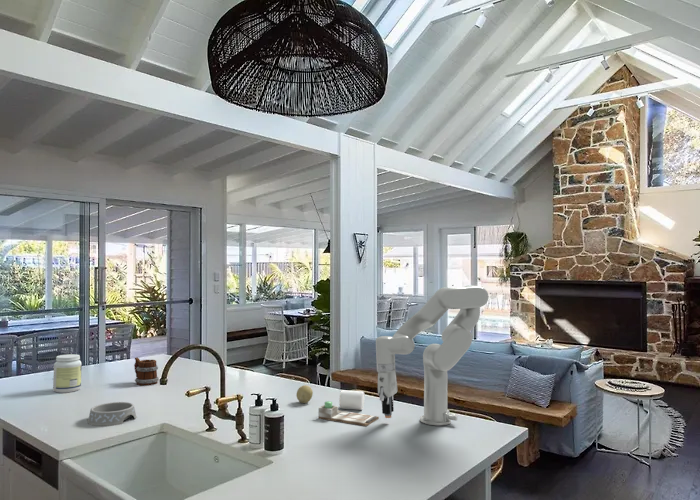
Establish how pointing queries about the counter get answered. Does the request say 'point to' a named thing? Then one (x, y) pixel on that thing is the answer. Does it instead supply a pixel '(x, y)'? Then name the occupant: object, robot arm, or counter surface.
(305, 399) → the potato
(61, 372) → the supplement tub
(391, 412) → the cylinder
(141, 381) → the mug
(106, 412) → the dog bowl
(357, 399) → the mug
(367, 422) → the cream tray
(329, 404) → the button
